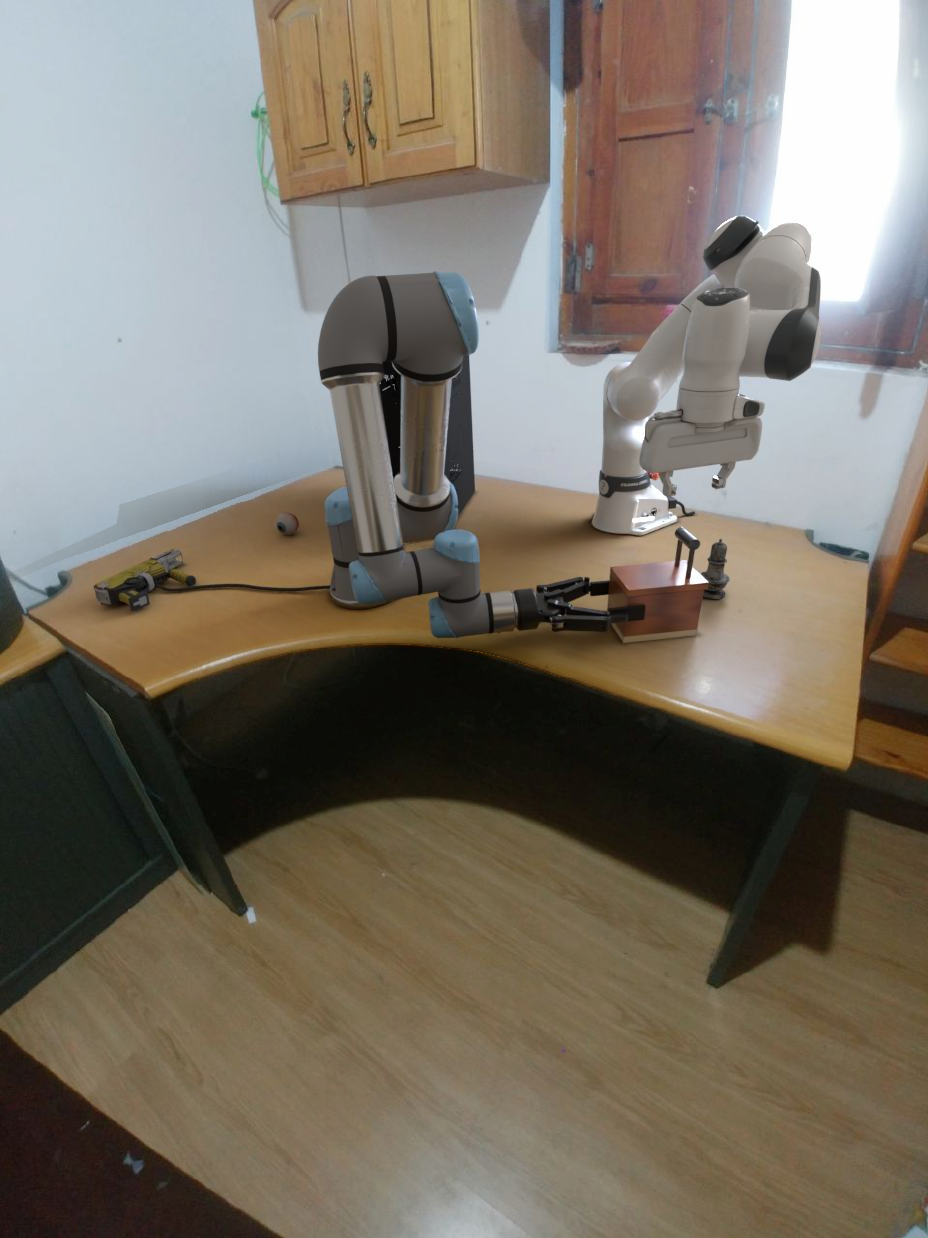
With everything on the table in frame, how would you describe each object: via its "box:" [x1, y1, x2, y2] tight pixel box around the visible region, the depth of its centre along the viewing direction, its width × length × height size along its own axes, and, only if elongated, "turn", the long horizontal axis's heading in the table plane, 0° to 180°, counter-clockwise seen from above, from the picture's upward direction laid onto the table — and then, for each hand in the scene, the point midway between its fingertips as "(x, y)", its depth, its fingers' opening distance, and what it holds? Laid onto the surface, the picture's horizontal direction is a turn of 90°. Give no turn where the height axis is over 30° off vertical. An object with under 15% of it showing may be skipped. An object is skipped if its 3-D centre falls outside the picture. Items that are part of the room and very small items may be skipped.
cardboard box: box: [379, 354, 476, 517], centre depth 164 cm, size 38×20×45 cm, turn 167°
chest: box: [606, 573, 704, 644], centre depth 112 cm, size 14×10×10 cm
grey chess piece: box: [699, 538, 731, 600], centre depth 121 cm, size 6×6×12 cm
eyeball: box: [275, 511, 300, 536], centre depth 163 cm, size 6×6×6 cm
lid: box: [609, 526, 709, 597], centre depth 107 cm, size 14×10×9 cm
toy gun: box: [93, 548, 197, 612], centre depth 139 cm, size 5×24×15 cm
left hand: (633, 598), depth 111 cm, fingers closed on chest, 10 cm apart
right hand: (693, 491), depth 102 cm, fingers open, 8 cm apart
